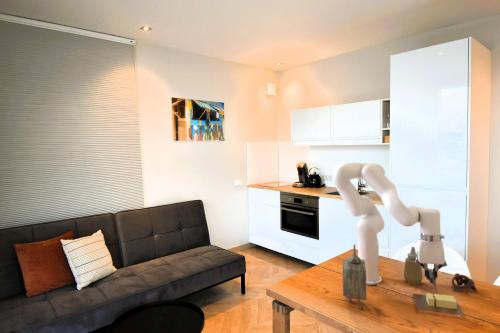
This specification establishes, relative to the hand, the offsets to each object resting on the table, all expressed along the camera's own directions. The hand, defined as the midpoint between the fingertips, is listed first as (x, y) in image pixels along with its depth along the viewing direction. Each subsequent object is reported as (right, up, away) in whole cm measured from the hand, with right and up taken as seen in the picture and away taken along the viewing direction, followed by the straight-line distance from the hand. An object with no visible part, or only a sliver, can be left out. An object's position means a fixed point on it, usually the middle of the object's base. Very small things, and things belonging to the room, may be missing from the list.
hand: (430, 278), depth 134 cm
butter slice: (-5, -8, -7) cm, 11 cm away
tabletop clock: (-34, -10, -2) cm, 36 cm away
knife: (-2, -1, -4) cm, 4 cm away
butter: (0, -8, -9) cm, 12 cm away
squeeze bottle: (-1, -8, +13) cm, 15 cm away
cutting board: (-2, -9, -8) cm, 12 cm away
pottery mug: (+17, -8, +5) cm, 20 cm away
